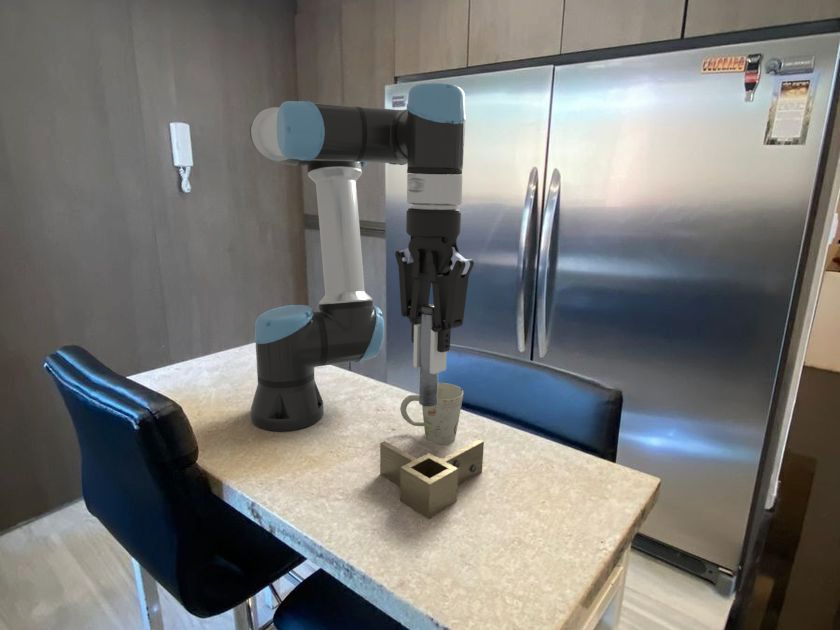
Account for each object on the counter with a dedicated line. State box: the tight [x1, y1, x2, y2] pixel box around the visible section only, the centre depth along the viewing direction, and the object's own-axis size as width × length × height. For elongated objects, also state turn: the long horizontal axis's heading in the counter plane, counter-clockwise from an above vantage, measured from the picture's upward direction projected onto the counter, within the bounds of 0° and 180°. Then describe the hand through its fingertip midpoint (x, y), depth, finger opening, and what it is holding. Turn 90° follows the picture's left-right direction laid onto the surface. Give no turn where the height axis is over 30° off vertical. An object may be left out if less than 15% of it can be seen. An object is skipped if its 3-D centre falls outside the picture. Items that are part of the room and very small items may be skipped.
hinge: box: [379, 439, 485, 520], centre depth 88 cm, size 14×16×6 cm
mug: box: [399, 382, 464, 445], centre depth 103 cm, size 8×13×10 cm, turn 78°
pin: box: [418, 303, 440, 407], centre depth 76 cm, size 3×3×15 cm
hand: (429, 368), depth 77 cm, fingers closed on pin, 3 cm apart
